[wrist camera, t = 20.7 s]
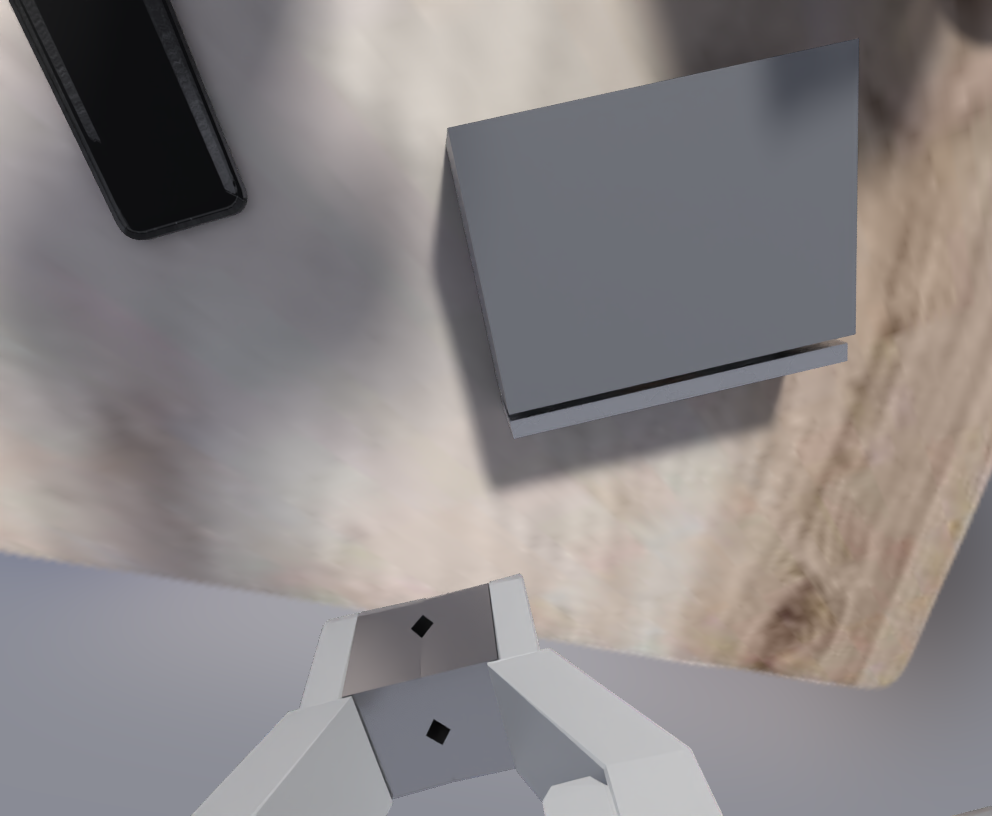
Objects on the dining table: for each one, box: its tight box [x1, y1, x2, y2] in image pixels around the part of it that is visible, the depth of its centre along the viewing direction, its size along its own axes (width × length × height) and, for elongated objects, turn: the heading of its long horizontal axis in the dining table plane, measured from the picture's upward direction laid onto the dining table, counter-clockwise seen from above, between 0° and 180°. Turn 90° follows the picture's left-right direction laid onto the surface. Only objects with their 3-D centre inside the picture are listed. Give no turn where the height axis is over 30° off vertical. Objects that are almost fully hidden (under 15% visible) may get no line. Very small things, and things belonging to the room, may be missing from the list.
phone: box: [9, 0, 247, 240], centre depth 32 cm, size 8×1×15 cm
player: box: [446, 38, 859, 415], centre depth 34 cm, size 16×22×6 cm
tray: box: [501, 339, 847, 439], centre depth 35 cm, size 16×22×6 cm
